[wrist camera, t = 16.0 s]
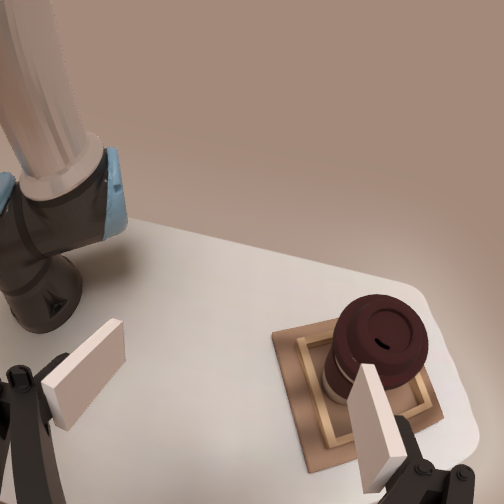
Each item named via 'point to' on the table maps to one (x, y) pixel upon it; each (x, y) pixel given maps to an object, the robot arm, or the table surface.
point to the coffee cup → (374, 345)
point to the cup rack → (328, 411)
